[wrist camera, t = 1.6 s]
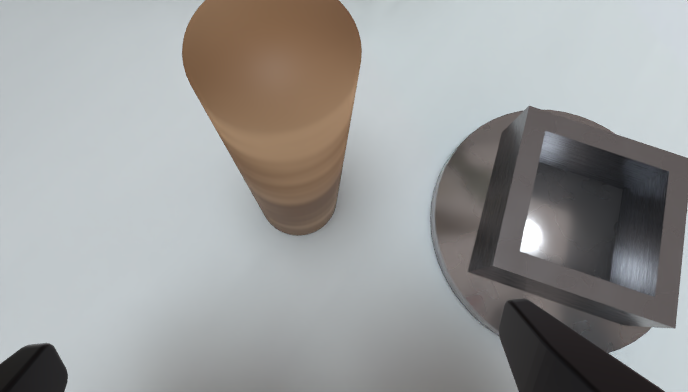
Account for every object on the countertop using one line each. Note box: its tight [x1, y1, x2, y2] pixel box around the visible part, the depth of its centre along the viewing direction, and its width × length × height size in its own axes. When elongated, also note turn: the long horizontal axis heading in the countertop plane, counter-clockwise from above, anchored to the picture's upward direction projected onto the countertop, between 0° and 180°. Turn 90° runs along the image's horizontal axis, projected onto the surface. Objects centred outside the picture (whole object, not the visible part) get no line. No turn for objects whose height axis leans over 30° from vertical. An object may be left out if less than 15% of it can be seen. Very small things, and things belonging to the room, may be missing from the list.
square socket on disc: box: [431, 106, 688, 353], centre depth 20 cm, size 13×13×4 cm
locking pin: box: [182, 0, 362, 235], centre depth 15 cm, size 4×4×13 cm
